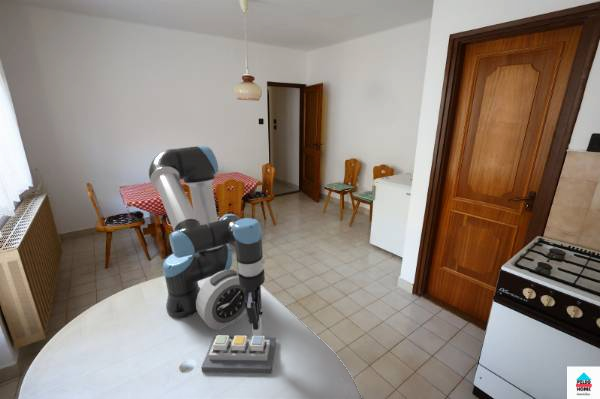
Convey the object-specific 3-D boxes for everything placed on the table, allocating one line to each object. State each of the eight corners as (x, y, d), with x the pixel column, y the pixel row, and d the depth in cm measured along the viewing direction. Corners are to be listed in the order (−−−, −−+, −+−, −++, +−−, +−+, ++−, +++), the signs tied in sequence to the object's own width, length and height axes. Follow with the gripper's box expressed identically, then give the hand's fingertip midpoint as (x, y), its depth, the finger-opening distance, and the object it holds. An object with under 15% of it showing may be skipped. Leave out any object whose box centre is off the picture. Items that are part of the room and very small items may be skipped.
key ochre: (232, 350, 90) (231, 344, 89) (235, 340, 94) (234, 334, 93) (244, 350, 90) (243, 344, 89) (247, 340, 94) (246, 335, 93)
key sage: (213, 349, 90) (212, 344, 90) (217, 339, 94) (216, 334, 93) (226, 350, 90) (225, 344, 89) (229, 340, 94) (228, 334, 93)
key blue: (250, 350, 90) (250, 344, 89) (253, 340, 94) (252, 335, 93) (262, 350, 90) (262, 345, 89) (264, 340, 93) (264, 335, 93)
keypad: (202, 371, 88) (200, 362, 87) (214, 341, 100) (213, 332, 98) (271, 373, 87) (270, 363, 86) (276, 342, 99) (275, 333, 97)
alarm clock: (207, 336, 102) (200, 290, 95) (198, 325, 107) (191, 281, 101) (256, 308, 115) (252, 266, 109) (246, 299, 121) (242, 259, 114)
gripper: (259, 283, 76) (265, 351, 83) (267, 258, 88) (271, 319, 96) (232, 283, 76) (240, 350, 84) (243, 258, 89) (250, 319, 96)
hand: (257, 334), depth 90 cm, fingers closed
